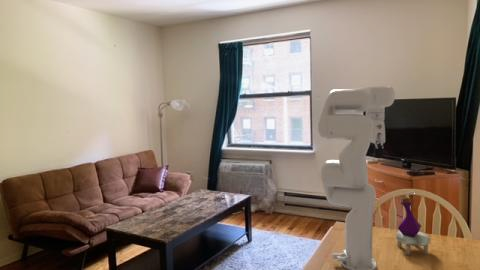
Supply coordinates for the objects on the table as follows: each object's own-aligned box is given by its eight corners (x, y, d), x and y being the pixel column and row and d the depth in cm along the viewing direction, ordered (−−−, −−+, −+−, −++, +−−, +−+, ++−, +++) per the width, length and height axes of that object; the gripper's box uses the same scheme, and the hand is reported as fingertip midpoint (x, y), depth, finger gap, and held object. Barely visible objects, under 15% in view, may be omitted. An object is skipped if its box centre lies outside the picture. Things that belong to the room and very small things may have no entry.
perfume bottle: (397, 235, 138) (398, 192, 136) (401, 229, 144) (402, 187, 142) (418, 239, 134) (419, 195, 132) (421, 233, 140) (422, 190, 138)
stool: (404, 257, 132) (404, 243, 132) (390, 244, 144) (391, 230, 143) (435, 256, 132) (436, 242, 131) (419, 243, 144) (419, 229, 143)
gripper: (392, 117, 138) (391, 159, 140) (375, 114, 155) (375, 151, 157) (373, 118, 138) (373, 159, 140) (359, 115, 155) (358, 152, 157)
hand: (374, 155), depth 149 cm, fingers open, 9 cm apart
